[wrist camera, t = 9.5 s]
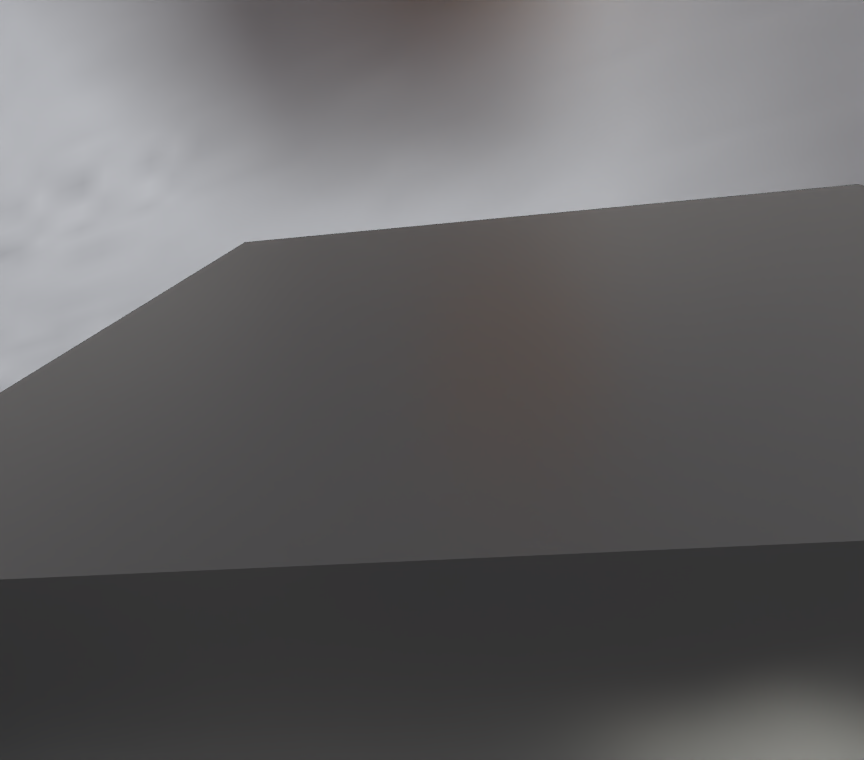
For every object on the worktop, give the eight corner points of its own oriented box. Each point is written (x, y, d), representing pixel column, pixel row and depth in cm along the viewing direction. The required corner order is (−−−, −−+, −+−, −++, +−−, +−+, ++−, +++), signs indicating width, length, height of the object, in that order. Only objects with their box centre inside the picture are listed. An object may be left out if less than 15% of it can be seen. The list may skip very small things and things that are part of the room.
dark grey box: (791, 663, 11) (1208, 1410, 5) (336, 676, 12) (177, 1334, 5) (856, 184, 8) (2194, 480, 2) (244, 241, 9) (-330, 594, 3)
